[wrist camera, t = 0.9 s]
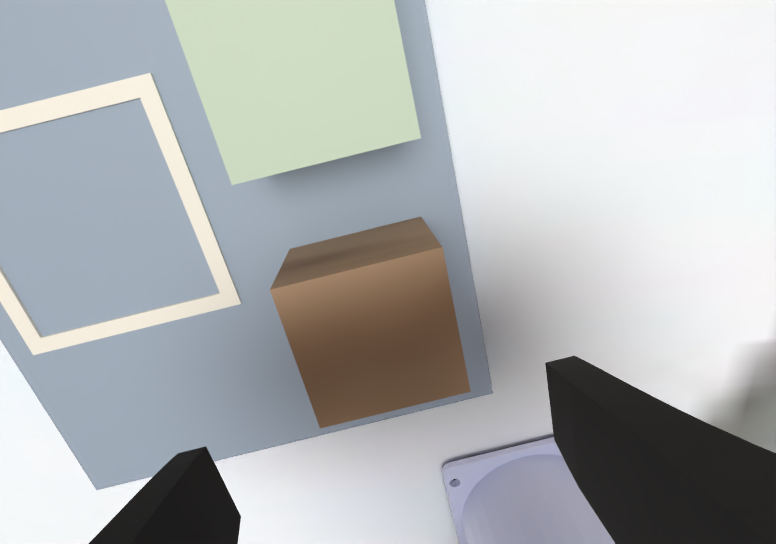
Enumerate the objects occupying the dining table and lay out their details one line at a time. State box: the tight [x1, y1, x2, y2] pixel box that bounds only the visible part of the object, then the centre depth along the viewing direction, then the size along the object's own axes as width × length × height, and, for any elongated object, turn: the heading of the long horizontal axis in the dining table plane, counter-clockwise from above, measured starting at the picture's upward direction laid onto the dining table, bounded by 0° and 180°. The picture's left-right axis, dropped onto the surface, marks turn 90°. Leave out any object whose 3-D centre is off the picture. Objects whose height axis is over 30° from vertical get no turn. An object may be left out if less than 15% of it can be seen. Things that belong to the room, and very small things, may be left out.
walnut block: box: [270, 216, 471, 428], centre depth 15 cm, size 5×5×4 cm
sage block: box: [165, 0, 421, 185], centre depth 12 cm, size 5×5×4 cm
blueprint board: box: [0, 0, 493, 490], centre depth 16 cm, size 20×18×1 cm
